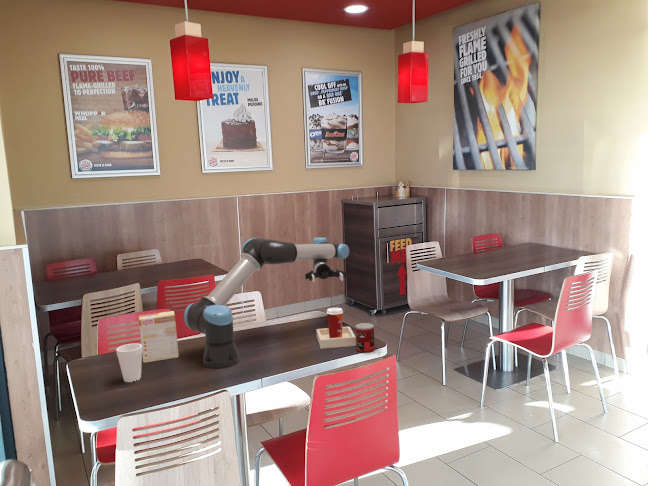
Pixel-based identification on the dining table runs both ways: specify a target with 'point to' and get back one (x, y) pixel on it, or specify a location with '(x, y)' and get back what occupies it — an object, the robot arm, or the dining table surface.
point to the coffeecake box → (158, 336)
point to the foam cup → (130, 361)
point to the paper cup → (335, 322)
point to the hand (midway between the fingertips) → (328, 278)
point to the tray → (344, 341)
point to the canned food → (364, 337)
